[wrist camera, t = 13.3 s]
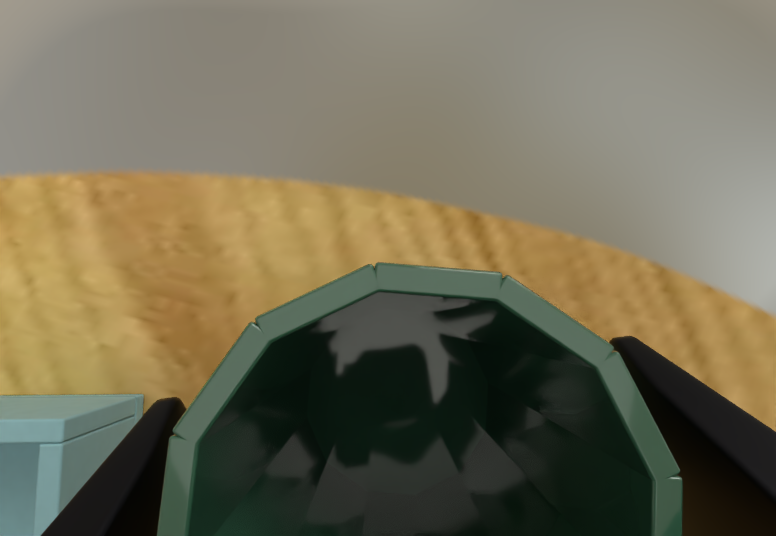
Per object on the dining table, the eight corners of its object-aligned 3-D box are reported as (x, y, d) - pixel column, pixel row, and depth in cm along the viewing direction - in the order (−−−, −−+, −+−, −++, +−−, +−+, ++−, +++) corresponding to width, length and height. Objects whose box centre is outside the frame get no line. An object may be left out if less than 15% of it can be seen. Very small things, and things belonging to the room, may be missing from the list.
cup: (349, 534, 15) (287, 933, 5) (268, 350, 16) (77, 400, 6) (528, 444, 16) (781, 660, 6) (441, 267, 16) (533, 185, 6)
